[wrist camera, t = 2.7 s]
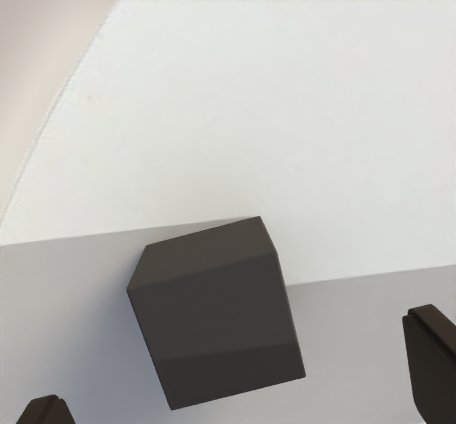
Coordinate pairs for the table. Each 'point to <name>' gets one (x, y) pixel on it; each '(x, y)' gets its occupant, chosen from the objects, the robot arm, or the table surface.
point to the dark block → (216, 313)
